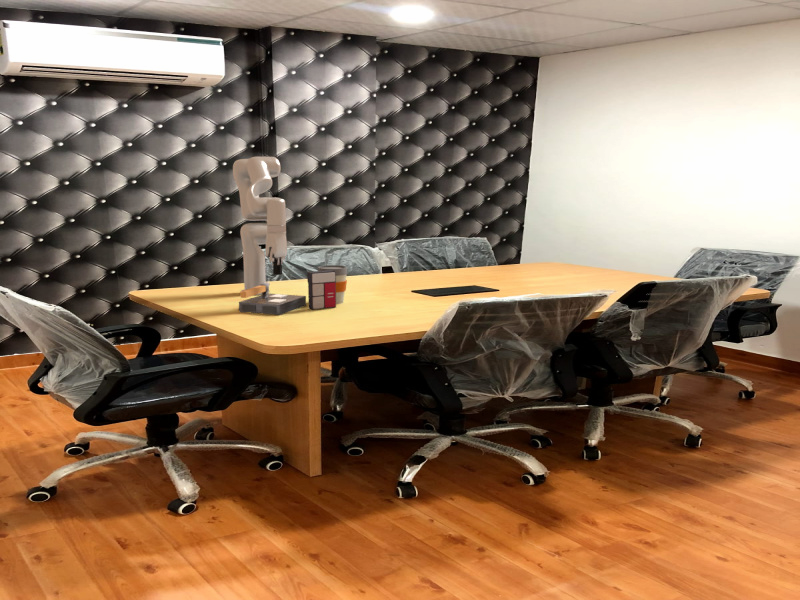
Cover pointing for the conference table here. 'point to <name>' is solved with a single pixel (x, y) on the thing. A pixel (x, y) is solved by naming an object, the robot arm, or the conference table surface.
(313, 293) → the grey and red box
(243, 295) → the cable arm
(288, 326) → the conference table surface
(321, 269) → the reusable coffee cup
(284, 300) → the label
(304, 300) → the server box
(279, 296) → the label
